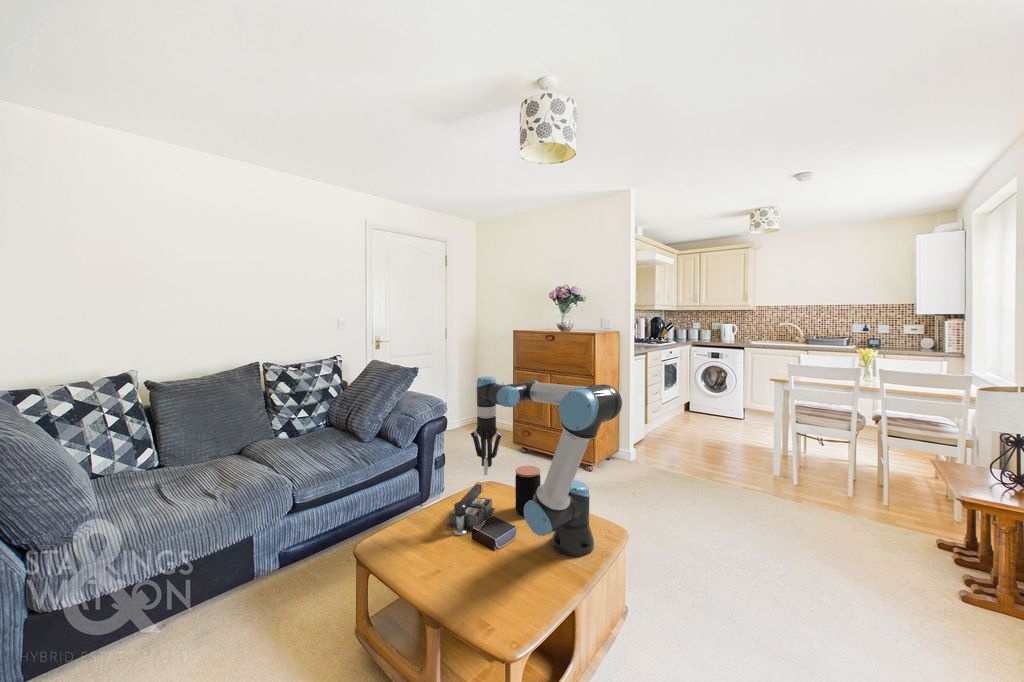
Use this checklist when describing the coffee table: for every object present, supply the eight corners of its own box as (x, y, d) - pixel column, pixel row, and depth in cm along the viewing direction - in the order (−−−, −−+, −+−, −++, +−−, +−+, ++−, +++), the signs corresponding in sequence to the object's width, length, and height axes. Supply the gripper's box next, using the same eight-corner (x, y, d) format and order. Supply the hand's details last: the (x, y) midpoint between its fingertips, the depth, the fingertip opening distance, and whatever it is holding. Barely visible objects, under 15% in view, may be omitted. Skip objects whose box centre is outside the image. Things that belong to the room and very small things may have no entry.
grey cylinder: (468, 529, 160) (468, 512, 159) (463, 536, 155) (463, 518, 154) (457, 528, 161) (456, 510, 161) (451, 534, 156) (451, 516, 156)
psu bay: (494, 510, 176) (494, 497, 175) (479, 531, 158) (479, 517, 158) (464, 506, 180) (464, 493, 179) (446, 526, 162) (446, 512, 162)
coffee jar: (537, 518, 168) (537, 476, 167) (512, 515, 171) (512, 473, 170) (542, 507, 178) (542, 466, 177) (519, 504, 181) (519, 464, 180)
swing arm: (463, 516, 155) (462, 507, 155) (452, 515, 156) (452, 506, 156) (484, 491, 177) (484, 482, 177) (475, 489, 179) (475, 481, 178)
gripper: (505, 414, 163) (505, 472, 165) (474, 412, 167) (475, 468, 169) (499, 419, 156) (499, 479, 158) (467, 417, 160) (468, 475, 161)
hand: (486, 473), depth 163 cm, fingers closed
